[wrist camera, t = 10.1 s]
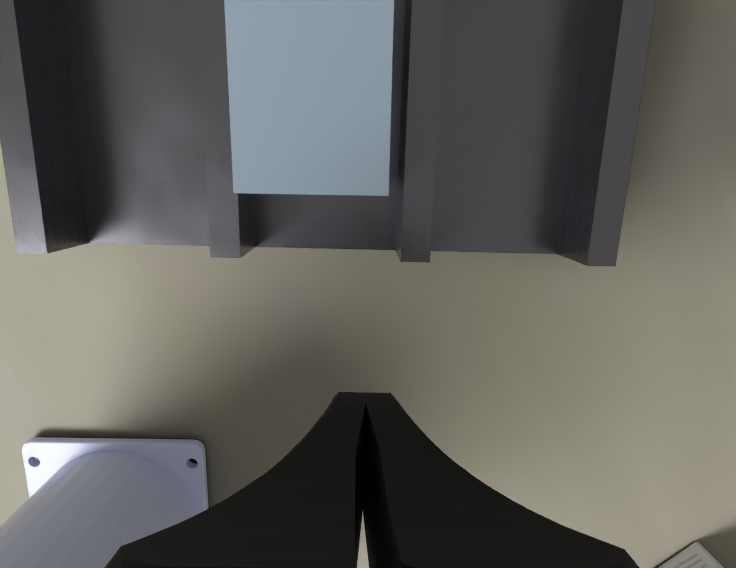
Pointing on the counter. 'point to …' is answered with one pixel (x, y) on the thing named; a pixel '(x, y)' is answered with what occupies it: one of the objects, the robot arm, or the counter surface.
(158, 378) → the counter surface
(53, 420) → the counter surface
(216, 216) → the rack
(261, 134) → the rectangular block
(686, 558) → the skincare box
